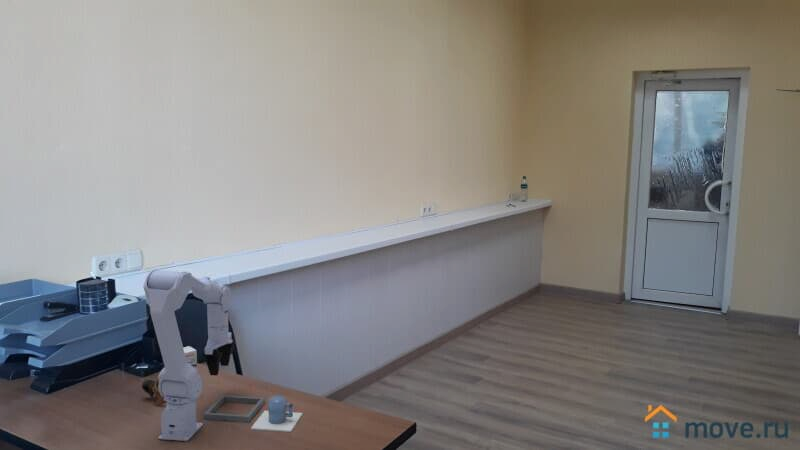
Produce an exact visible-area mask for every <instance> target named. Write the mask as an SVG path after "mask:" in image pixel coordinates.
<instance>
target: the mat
mask: <svg viewBox="0 0 800 450" xmlns="http://www.w3.org/2000/svg"><path fill="white" fill-rule="evenodd" d="M286 413H289V411H286ZM302 416H303V412H295V411H293V416H292V417H286V421H285V422H284V423H281V424H272V423H270V422H269V421H268V410H264V411H262V414H260V416H259V417H258V418H257V420H256V421H255V422H254V424H253V425H252V426H251V428H250V430H252V431H253V430H254V431H255V430H257V431H268V432H269V431H270V432H283V433H292V432H293V430H294V428H295V426H296V425H297V424H298V423H299V420H300V419H301V417H302Z"/></svg>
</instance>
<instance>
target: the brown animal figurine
mask: <svg viewBox="0 0 800 450" xmlns="http://www.w3.org/2000/svg"><path fill="white" fill-rule="evenodd" d="M158 386H159V379H158V378H157V379H156V380H153V379H145V380H143V382H142V385H141V388H142V389H143V391H144V392H145V393H146V394H148V395H149V397H150V398H153V397H154V395H155V397H157V400H156V405H158V406H164V404H167V401H164V397H163V396H161V395H160V393H159V388H158Z"/></svg>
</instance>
